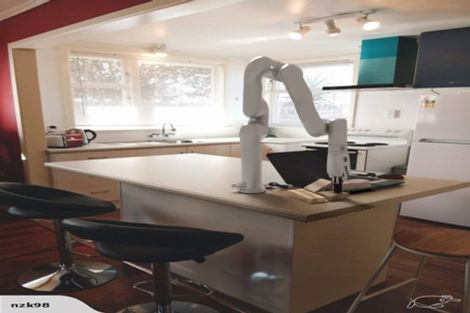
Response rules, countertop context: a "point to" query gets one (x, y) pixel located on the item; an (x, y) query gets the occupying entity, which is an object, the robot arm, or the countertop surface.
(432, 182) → the countertop surface
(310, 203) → the underlay mat
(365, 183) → the brick
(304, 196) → the laid board
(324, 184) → the plank
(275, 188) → the countertop surface
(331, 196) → the plank
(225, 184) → the countertop surface
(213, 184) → the countertop surface
